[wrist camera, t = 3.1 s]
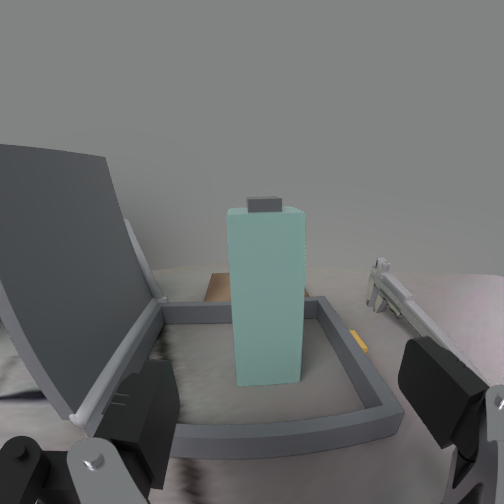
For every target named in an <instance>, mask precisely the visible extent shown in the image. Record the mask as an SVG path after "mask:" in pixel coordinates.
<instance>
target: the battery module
mask: <svg viewBox="0 0 504 504" xmlns="http://www.w3.org/2000/svg"><path fill="white" fill-rule="evenodd" d="M227 235H228V253H229V273H230V290H231V306H232V321H233V336H234V350H235V363H236V376H237V386H258V385H274V384H286V383H296V382H300V372H301V357H302V339H303V318H304V290H305V212H303V211H301V210H298V209H296V208H294V207H282V198H279V197H276V196H271V197H270V196H269V197H247V208H233V209H232V208H230V209H229V211H228V213H227Z"/></svg>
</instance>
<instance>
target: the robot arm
mask: <svg viewBox="0 0 504 504" xmlns="http://www.w3.org/2000/svg"><path fill="white" fill-rule="evenodd" d="M398 384H399V388H400V390H401V392H402V393H403V394H404V396H405V397H406V399H407V400H408V401H409V403H410V404H411V406H412V407H413V408H414V410H415V411H416V413H417V414H418V416H419V417H420V418H421V420H422V421H423V423H424V424H425V426H426V427H427V429H428V430H429V431H430V433H431V434H432V436H433V437H434V439H435V440H436V442H437V443H438V445H439V446H440V448H441V449H444V448H446V447H448V446H450V445H452V444H455V445H456V448H455V449H454V451H453V455H452V461H451V467H450V473H449V478H448V483H447V488H446V492H445V496H444V498H443V500H442V502H441V504H504V385H495V386H492V387H489V386H488V385H487V384H486V383H485V382H484V381H483V380H482V379H481V378H480V377H479V376H478V375H476V374H475V373H474V372H473V371H472V370H471V369H470V368H469V367H466V364H465V363H463V362H462V361H460V359H459V358H458V357H457V356H456V355H455V354H454V353H452V352H451V351H449V350H447V349H445V348H443V347H441V346H440V345H438V344H437V343H436V342H435V341H434V340H433V339H432V338H431V337H429V336H424V337H419V338H415V339H410V340H409V341H408V342H407V344H406V347H405V351H404V355H403V359H402V363H401V367H400V370H399V374H398ZM179 409H180V402H179V394H178V390H177V386H176V381H175V377H174V372H173V368H172V364H171V362H170V360H154V359H147V360H146V361H145V363H144V365H143V367H142V369H141V371H140V373H139V374H137V373H132V374H130V375H129V376H128V377H127V378H125V379H124V380H123V381H122V382H121V383H120V385H119V387H118V389H117V391H116V395H114V397H113V398H112V400H111V404H109V406H108V408H107V410H106V412H105V414H104V416H103V418H102V420H101V422H100V424H99V426H98V428H97V430H96V432H95V434H94V436H93V437H92V438H86V439H83V440H80V441H78V442H76V443H75V444H74V445H73V446H72V447H71V448H70V449H69V451H43V450H42V449H41V448H40V446H39V445H38V443H37V442H36V441H35V440H34V439H32V438H30V437H27V436H17V437H14V438H12V439H10V440H8V441H7V442H6V443H5V444H4V445H3V447H2V448H1V450H0V504H35V503H36V501H37V504H151V503H150V501H149V500H148V496H149V492H150V488H153V489H161V490H163V485H164V480H165V475H166V470H167V465H168V460H169V456H170V451H171V447H172V442H173V437H174V433H175V428H176V424H177V420H178V415H179Z"/></svg>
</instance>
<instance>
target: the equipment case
mask: <svg viewBox="0 0 504 504" xmlns="http://www.w3.org/2000/svg"><path fill="white" fill-rule="evenodd" d="M148 286H149V287H148ZM149 288H150V289H149ZM150 290H151V292H152V294H153V296H154V297H153V296H152V294H151V292H150ZM0 317H1V320H2V322H3V324H4V326H5V328H6V330H7V332H8V334H9V336H10V338H11V340H12V342H13V344H14V346H15V348H16V350H17V351H18V353H19V355H20V357H21V358H22V360H23V362H24V364H25V365H26V367H27V369H28V370H29V372H30V374H31V375H32V377H33V378H34V380H35V382H36V383H37V385H38V386H39V388H40V389H41V391H42V392H43V394H44V395H45V396H46V398H47V399H48V401H49V402H50V404H51V405H52V406H53V408H54V409H55V410H56V412H57V413H58V414H59V416H60V417H61V418H62V419H63V420H70V421H71V422H72V423H73V424H74V425H75V426H77V427H79V428H82V429H85V431H86V433H87V435H88V436H89V438H92V437H93V436H94V434H95V432H96V430H97V428H98V426H99V424H100V422H101V420H102V418H103V416H104V414H105V412H106V410H107V408H108V406H109V404H111V400H112V398H113V397H114V395H116V391H117V389H118V387H119V385H120V383H121V382H122V381H123V380H124V379H125V378H127V377H128V376H129V375H130V374H132V373H137V374H139V373H140V371H141V369H142V367H143V365H144V363H145V361H146V359H147V357H148V355H149V353H150V351H151V349H152V347H153V345H154V343H155V341H156V339H157V337H158V335H159V333H160V331H161V329H162V327H163V325H164V324H203V323H233V321H232V306H231V301H223V302H179V303H168V296H163V294H162V292H161V290H160V288H159V286H158V284H157V282H156V280H155V278H154V276H153V274H152V272H151V270H150V268H149V266H148V263H147V261H146V260H145V257H144V255H143V253H142V250H141V248H140V246H139V244H138V242H137V239H136V237H135V235H134V233H133V231H132V228H131V226H130V223H129V221H128V220H127V219H123V217H122V213H121V210H120V207H119V204H118V200H117V197H116V194H115V191H114V187H113V184H112V180H111V177H110V173H109V169H108V166H107V162H106V158H105V157H101V156H94V155H88V154H81V153H74V152H67V151H60V150H52V149H43V148H35V147H26V146H16V145H4V144H0ZM307 318H317V319H318V321H319V323H320V325H321V327H322V328H323V330H324V332H325V334H326V336H327V337H328V339H329V341H330V343H331V345H332V346H333V348H334V350H335V352H336V354H337V356H338V357H339V359H340V361H341V363H342V365H343V367H344V368H345V370H346V372H347V374H348V376H349V378H350V380H351V381H352V383H353V385H354V387H355V389H356V391H357V393H358V395H359V396H360V398H361V400H362V402H363V404H364V406H365V408H366V409H364V410H359V411H354V412H349V413H344V414H339V415H333V416H327V417H320V418H313V419H305V420H297V421H288V422H277V423H263V424H243V425H195V424H176V428H175V433H174V437H173V442H172V447H171V451H170V456H169V457H180V458H196V459H254V458H270V457H282V456H291V455H300V454H307V453H314V452H320V451H326V450H332V449H337V448H342V447H347V446H351V445H356V444H360V443H364V442H368V441H372V440H376V439H380V438H383V437H387V436H390V435H394V434H396V432H397V430H398V427H399V425H400V423H401V420H402V418H403V415H404V413H405V411H404V409H403V408H402V406H401V405H400V403H399V402H398V400H397V399H396V397H395V396H394V394H393V393H392V391H391V390H390V389H389V387H388V386H387V384H386V383H385V381H384V380H383V378H382V377H381V375H380V374H379V372H378V371H377V370H376V368H375V367H374V365H373V364H372V362H371V361H370V359H369V358H368V357H367V355H366V353H367V347H366V345H365V344H364V343H363V341H362V340H361V339H360V337H359V336H358V335H357V333H356V332H355V330H350V331H349V330H348V328H347V327H346V325H345V324H344V323H343V321H342V320H341V318H340V317H339V316H338V314H337V313H336V311H335V310H334V309H333V307H332V306H331V305H330V303H329V302H328V300H327V299H326V298H325V296H317V297H304V318H303V319H307Z"/></svg>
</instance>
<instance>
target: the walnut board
mask: <svg viewBox="0 0 504 504" xmlns="http://www.w3.org/2000/svg"><path fill="white" fill-rule="evenodd" d="M304 297H309V295H308V293H307V292H306V290H304ZM223 301H231V290H230V273H217V274H212V276H211V279H210V283H209V286H208V290H207V293H206V297H205V300H204V302H223Z"/></svg>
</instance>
